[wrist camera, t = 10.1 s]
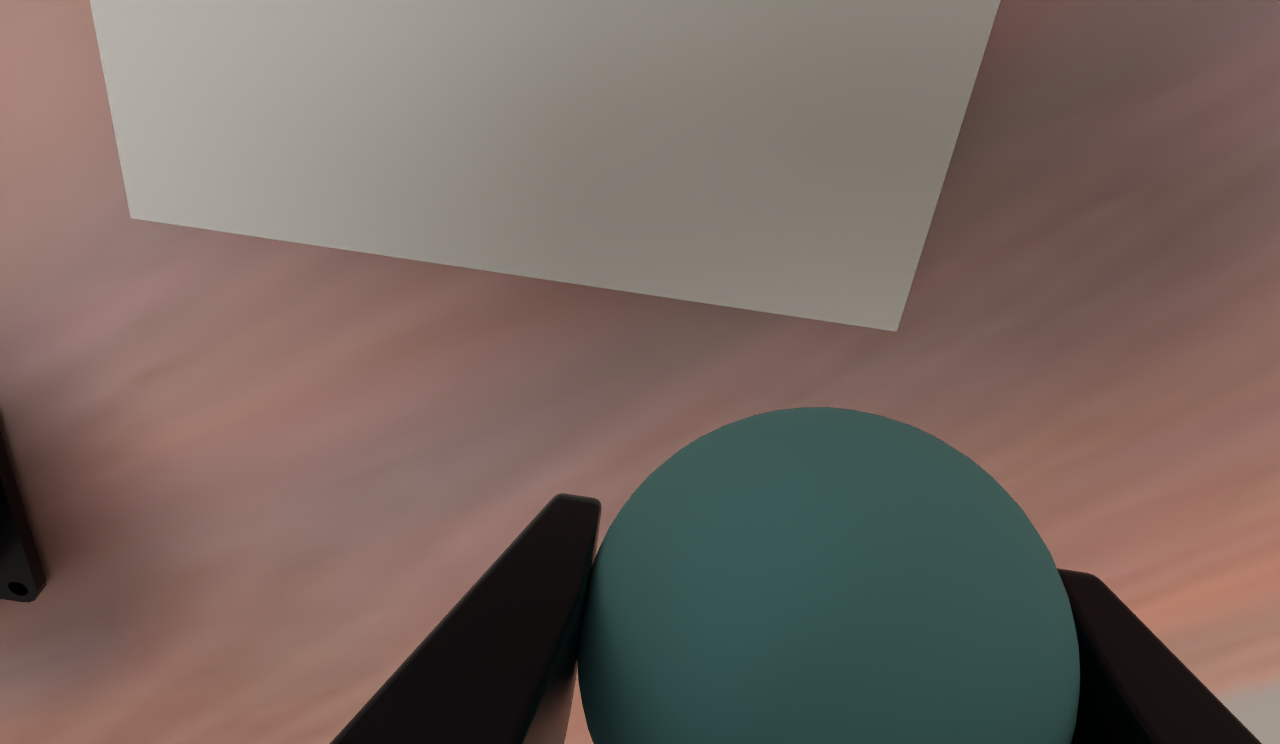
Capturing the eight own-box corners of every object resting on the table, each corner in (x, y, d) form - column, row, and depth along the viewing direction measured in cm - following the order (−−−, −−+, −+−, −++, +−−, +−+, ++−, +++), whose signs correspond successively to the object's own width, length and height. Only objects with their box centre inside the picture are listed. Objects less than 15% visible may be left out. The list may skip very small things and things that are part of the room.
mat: (894, 321, 20) (896, 332, 20) (141, 209, 20) (130, 217, 20) (1010, -54, 16) (1015, -48, 16) (69, -191, 16) (54, -188, 16)
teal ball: (949, 651, 11) (1028, 1057, 8) (591, 595, 11) (522, 976, 8) (1083, 353, 9) (1269, 749, 6) (632, 285, 9) (559, 641, 6)
